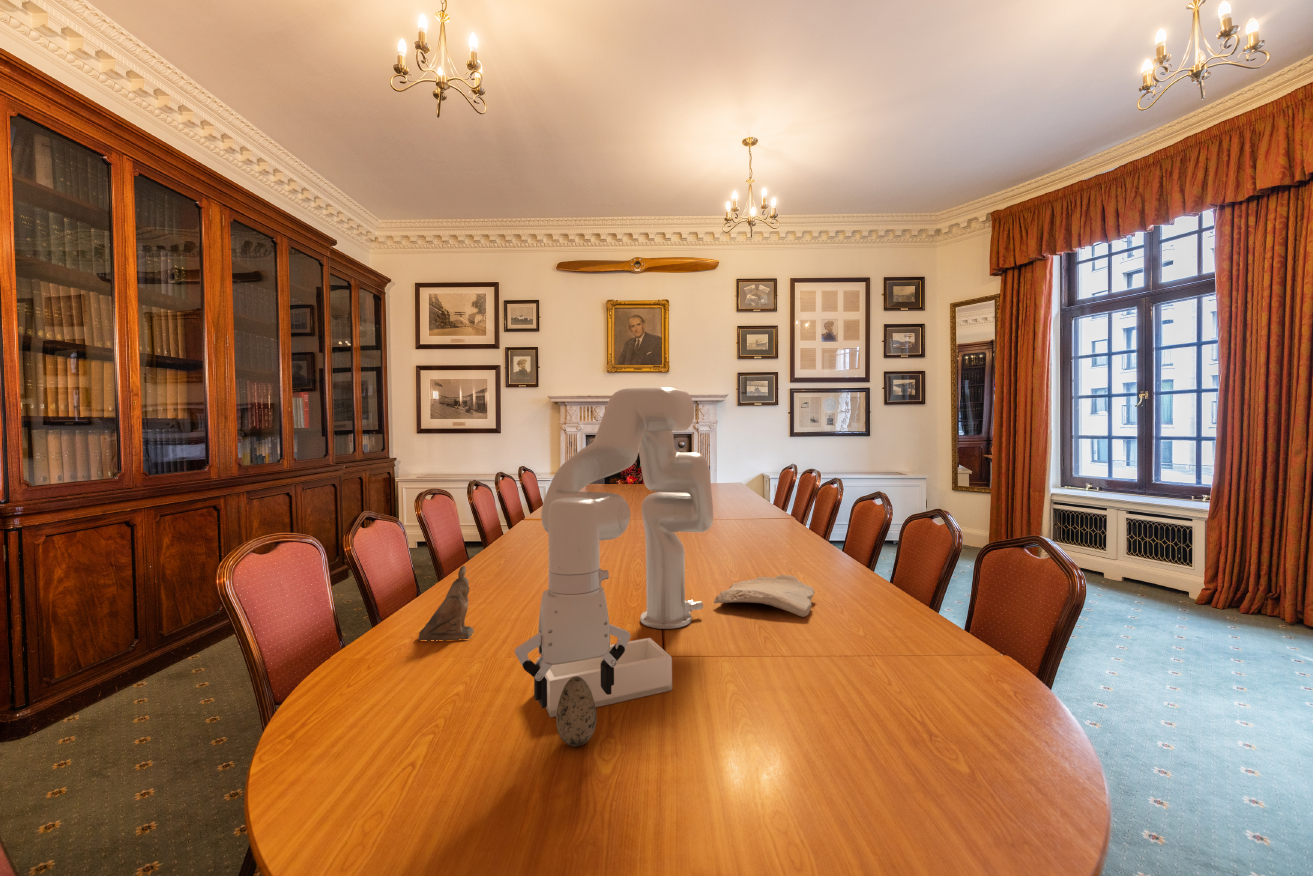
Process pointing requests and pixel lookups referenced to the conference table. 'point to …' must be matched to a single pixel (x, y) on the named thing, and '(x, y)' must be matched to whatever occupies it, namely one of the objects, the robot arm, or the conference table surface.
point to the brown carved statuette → (450, 614)
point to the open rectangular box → (616, 675)
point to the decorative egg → (576, 713)
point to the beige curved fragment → (772, 593)
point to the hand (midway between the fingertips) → (575, 697)
